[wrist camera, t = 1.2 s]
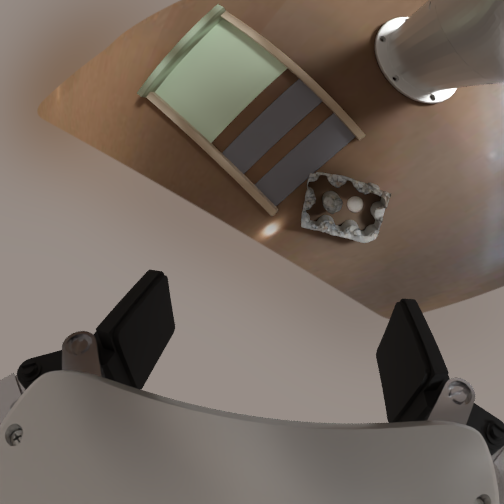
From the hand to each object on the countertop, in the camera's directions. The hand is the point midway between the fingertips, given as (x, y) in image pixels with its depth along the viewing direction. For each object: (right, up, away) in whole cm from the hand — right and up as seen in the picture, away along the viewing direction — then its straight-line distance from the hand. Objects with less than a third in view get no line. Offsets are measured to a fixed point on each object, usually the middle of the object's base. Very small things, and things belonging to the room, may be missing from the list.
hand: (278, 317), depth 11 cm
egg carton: (+11, +9, +24) cm, 28 cm away
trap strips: (+3, +16, +22) cm, 27 cm away
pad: (-5, +25, +19) cm, 32 cm away
